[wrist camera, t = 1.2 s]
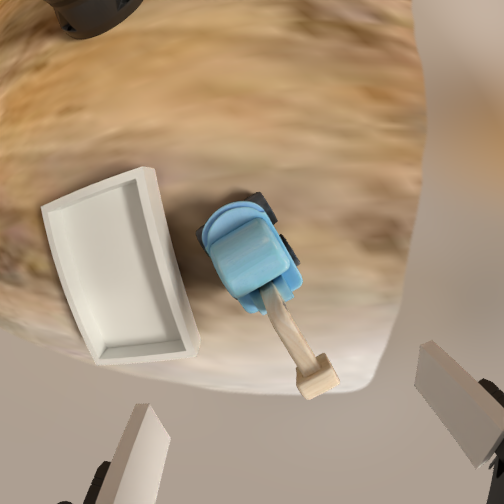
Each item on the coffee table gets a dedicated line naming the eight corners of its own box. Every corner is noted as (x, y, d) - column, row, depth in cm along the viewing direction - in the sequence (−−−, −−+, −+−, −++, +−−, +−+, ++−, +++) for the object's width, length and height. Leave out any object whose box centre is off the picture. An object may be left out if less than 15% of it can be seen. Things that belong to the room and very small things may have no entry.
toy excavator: (262, 330, 36) (276, 427, 19) (193, 223, 32) (146, 259, 16) (319, 299, 35) (371, 380, 18) (256, 185, 32) (271, 182, 15)
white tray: (64, 203, 31) (40, 206, 26) (158, 169, 31) (142, 166, 25) (111, 345, 36) (96, 365, 31) (202, 334, 36) (196, 356, 30)
